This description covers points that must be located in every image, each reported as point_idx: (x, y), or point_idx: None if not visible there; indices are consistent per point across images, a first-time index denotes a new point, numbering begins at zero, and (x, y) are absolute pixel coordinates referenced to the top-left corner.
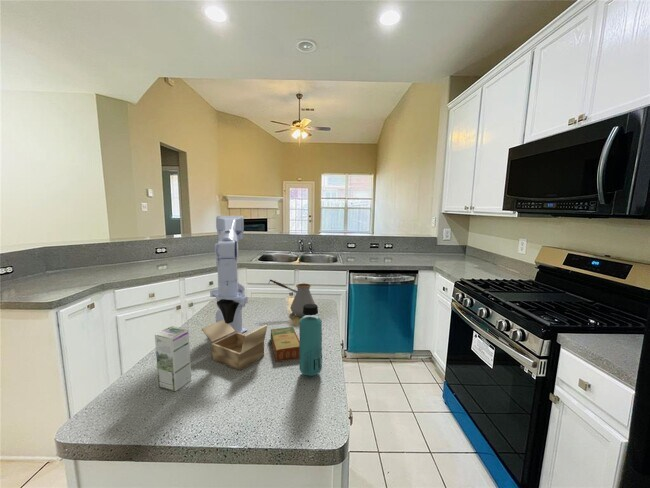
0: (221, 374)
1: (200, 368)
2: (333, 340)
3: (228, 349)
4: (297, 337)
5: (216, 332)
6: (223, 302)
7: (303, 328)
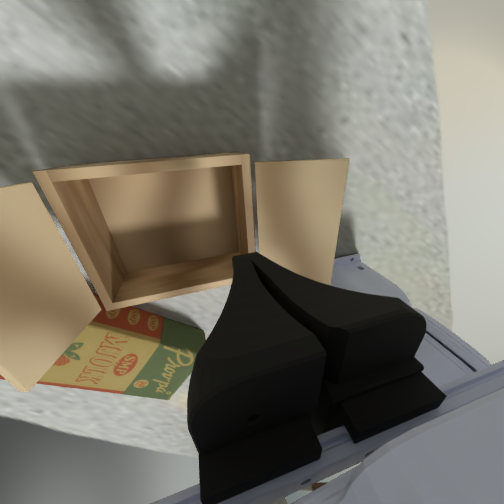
0: (102, 99)
1: (210, 79)
2: (67, 426)
3: (132, 168)
4: (82, 388)
5: (288, 211)
6: (318, 376)
7: None
